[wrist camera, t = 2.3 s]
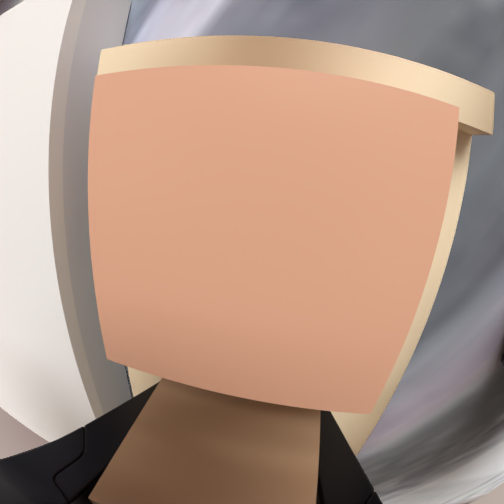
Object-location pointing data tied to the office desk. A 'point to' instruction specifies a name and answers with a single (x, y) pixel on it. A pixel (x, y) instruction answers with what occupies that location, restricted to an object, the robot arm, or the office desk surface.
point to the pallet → (246, 410)
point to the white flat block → (51, 216)
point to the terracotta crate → (264, 227)
